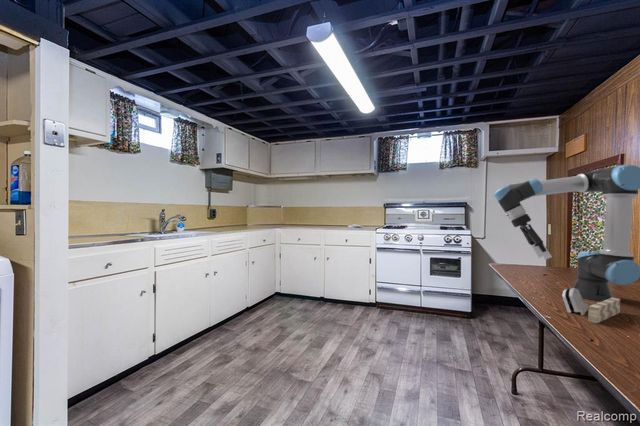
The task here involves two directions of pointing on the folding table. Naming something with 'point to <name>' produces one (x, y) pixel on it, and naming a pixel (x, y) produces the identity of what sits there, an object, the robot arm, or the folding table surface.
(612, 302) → the bench stop
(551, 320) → the folding table surface
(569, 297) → the white black rounded case
